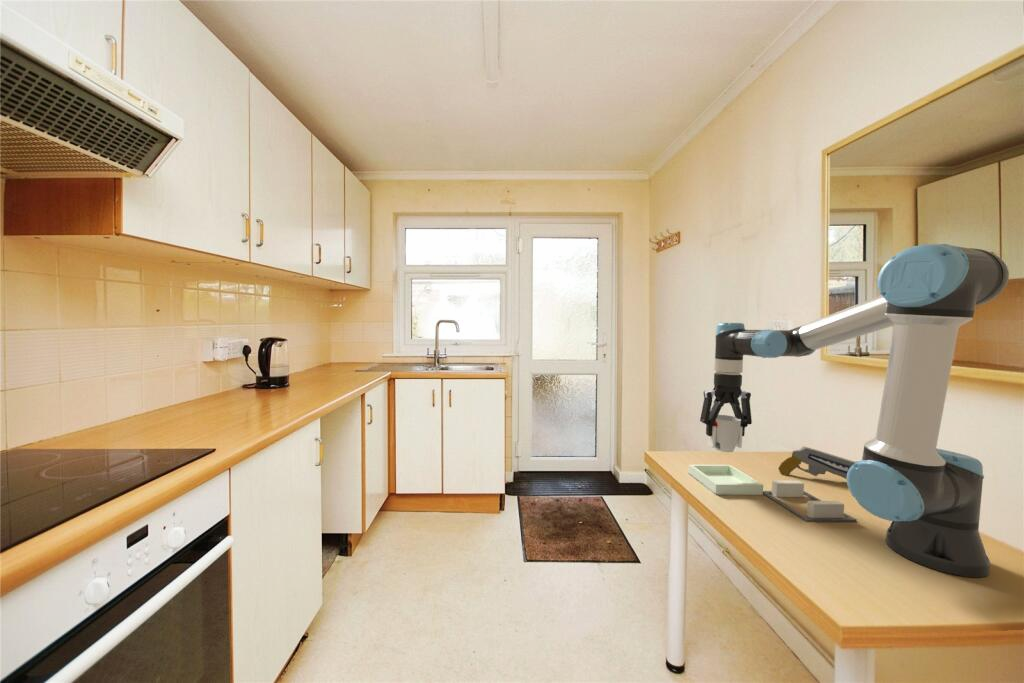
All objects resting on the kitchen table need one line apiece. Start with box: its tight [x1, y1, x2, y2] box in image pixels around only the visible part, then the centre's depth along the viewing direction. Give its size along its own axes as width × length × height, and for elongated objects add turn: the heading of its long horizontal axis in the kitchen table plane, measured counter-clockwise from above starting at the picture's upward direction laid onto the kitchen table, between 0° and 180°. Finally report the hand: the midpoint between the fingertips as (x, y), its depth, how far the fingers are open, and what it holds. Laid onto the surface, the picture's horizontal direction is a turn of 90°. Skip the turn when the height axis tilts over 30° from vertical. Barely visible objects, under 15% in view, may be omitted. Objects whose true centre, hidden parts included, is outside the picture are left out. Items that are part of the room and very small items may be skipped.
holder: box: [763, 480, 857, 523], centre depth 107 cm, size 17×13×4 cm
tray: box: [688, 464, 764, 496], centre depth 121 cm, size 16×14×3 cm
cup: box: [713, 414, 741, 453], centre depth 121 cm, size 8×8×10 cm
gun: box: [777, 446, 859, 480], centre depth 125 cm, size 3×25×15 cm, turn 69°
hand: (724, 446), depth 121 cm, fingers closed on cup, 8 cm apart
